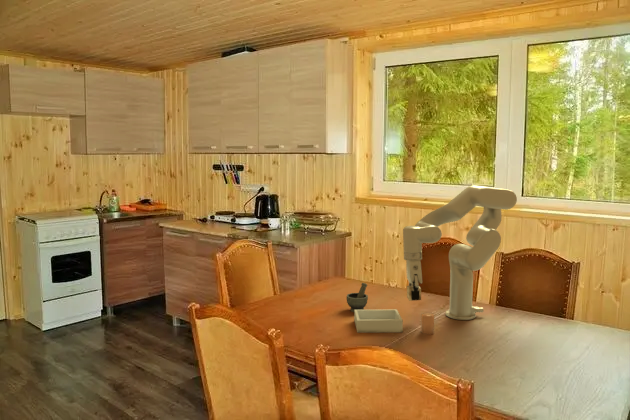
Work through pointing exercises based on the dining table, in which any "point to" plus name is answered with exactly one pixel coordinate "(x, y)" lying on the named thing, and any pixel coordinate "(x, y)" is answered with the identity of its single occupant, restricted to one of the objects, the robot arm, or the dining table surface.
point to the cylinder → (427, 323)
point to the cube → (409, 289)
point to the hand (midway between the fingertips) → (414, 297)
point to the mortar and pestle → (358, 299)
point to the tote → (378, 321)
